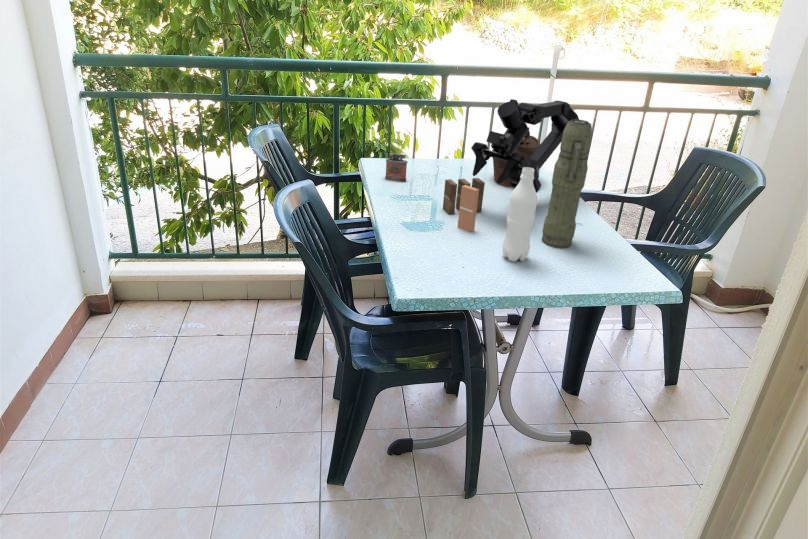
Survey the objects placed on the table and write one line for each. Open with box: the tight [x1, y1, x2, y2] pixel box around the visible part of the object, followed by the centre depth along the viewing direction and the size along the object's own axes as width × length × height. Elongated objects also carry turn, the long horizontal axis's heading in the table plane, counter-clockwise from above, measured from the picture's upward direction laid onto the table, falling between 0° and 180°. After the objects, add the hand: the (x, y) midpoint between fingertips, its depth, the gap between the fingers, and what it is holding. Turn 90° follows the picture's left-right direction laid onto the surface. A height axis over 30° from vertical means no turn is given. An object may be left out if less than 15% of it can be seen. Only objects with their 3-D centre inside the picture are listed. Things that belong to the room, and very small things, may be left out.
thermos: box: [541, 119, 593, 249], centre depth 157 cm, size 9×12×35 cm
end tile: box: [457, 185, 479, 233], centre depth 167 cm, size 2×5×13 cm, turn 46°
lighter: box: [384, 152, 408, 183], centre depth 206 cm, size 8×3×10 cm, turn 73°
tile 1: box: [471, 177, 486, 213], centre depth 183 cm, size 2×5×10 cm, turn 19°
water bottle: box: [501, 167, 539, 262], centre depth 148 cm, size 7×7×25 cm
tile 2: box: [455, 178, 471, 212], centre depth 181 cm, size 2×5×10 cm, turn 18°
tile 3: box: [442, 178, 458, 216], centre depth 180 cm, size 2×5×10 cm, turn 18°
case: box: [491, 135, 541, 188], centre depth 210 cm, size 18×20×18 cm
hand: (485, 179), depth 170 cm, fingers open, 9 cm apart
